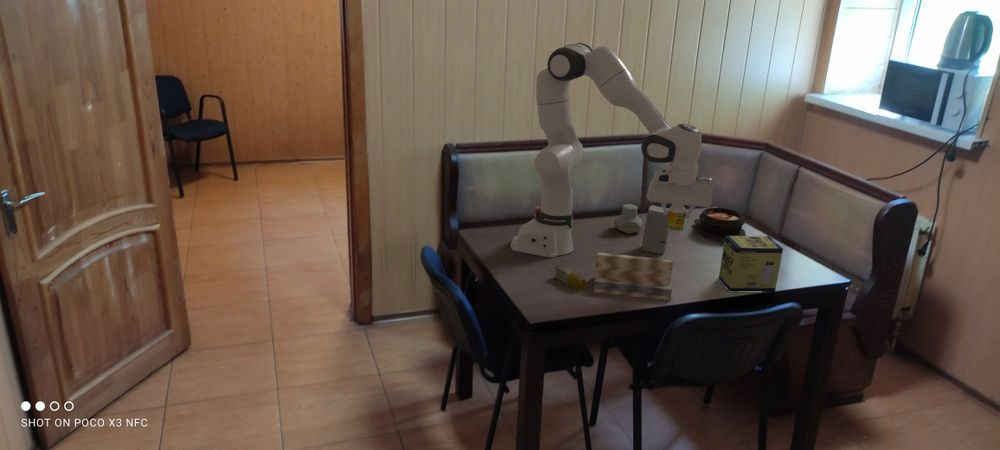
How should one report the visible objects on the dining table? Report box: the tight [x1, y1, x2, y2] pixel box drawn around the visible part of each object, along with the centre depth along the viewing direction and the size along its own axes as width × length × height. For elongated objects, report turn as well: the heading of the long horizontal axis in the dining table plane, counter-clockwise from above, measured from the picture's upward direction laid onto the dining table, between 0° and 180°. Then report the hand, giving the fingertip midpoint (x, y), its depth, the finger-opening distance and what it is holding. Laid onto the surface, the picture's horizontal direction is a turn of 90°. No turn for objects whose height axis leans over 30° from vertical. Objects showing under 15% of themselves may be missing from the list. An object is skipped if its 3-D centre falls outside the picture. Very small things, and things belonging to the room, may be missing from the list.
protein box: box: [718, 235, 784, 293], centre depth 234 cm, size 10×16×16 cm
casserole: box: [693, 207, 747, 242], centre depth 278 cm, size 25×19×8 cm
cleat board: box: [592, 251, 674, 301], centre depth 229 cm, size 24×11×9 cm, turn 80°
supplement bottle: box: [667, 203, 687, 233], centre depth 234 cm, size 5×5×10 cm
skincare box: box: [641, 204, 671, 255], centre depth 259 cm, size 8×7×16 cm
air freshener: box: [613, 203, 644, 235], centre depth 277 cm, size 11×8×10 cm
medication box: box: [555, 264, 586, 291], centre depth 232 cm, size 12×3×4 cm, turn 35°
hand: (676, 216), depth 235 cm, fingers closed on supplement bottle, 5 cm apart
